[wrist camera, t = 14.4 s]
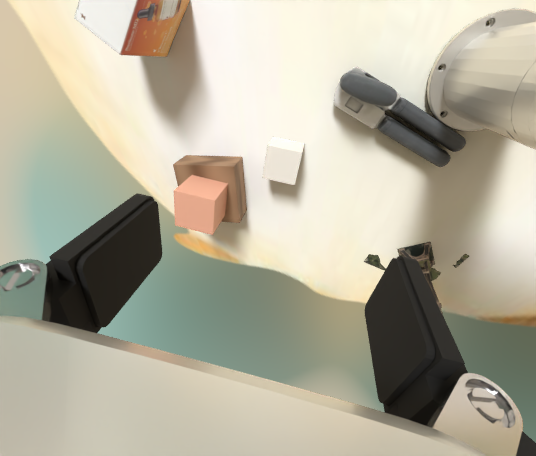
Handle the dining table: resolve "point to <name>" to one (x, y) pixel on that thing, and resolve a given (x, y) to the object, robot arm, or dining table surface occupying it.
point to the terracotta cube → (200, 204)
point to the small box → (133, 24)
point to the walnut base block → (218, 179)
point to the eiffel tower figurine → (424, 259)
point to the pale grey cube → (282, 160)
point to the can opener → (386, 98)
